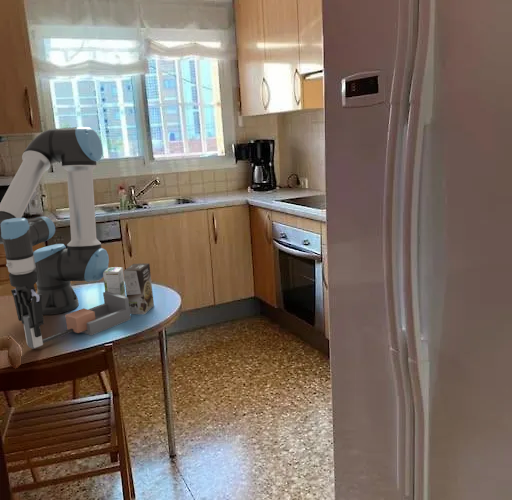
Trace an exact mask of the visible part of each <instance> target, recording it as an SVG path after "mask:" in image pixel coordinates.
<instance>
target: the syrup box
mask: <svg viewBox="0 0 512 500" xmlns="http://www.w3.org/2000/svg"><path fill="white" fill-rule="evenodd" d="M103 285H104V292H106V291H107V292H111V293H114V294H118V295H122V296H126V288H125V279H124V267H120V266H119V267H118V266H114V267H112V266H111V267H108V268H107V269H106V270H105V271H104V272H103Z"/></svg>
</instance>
